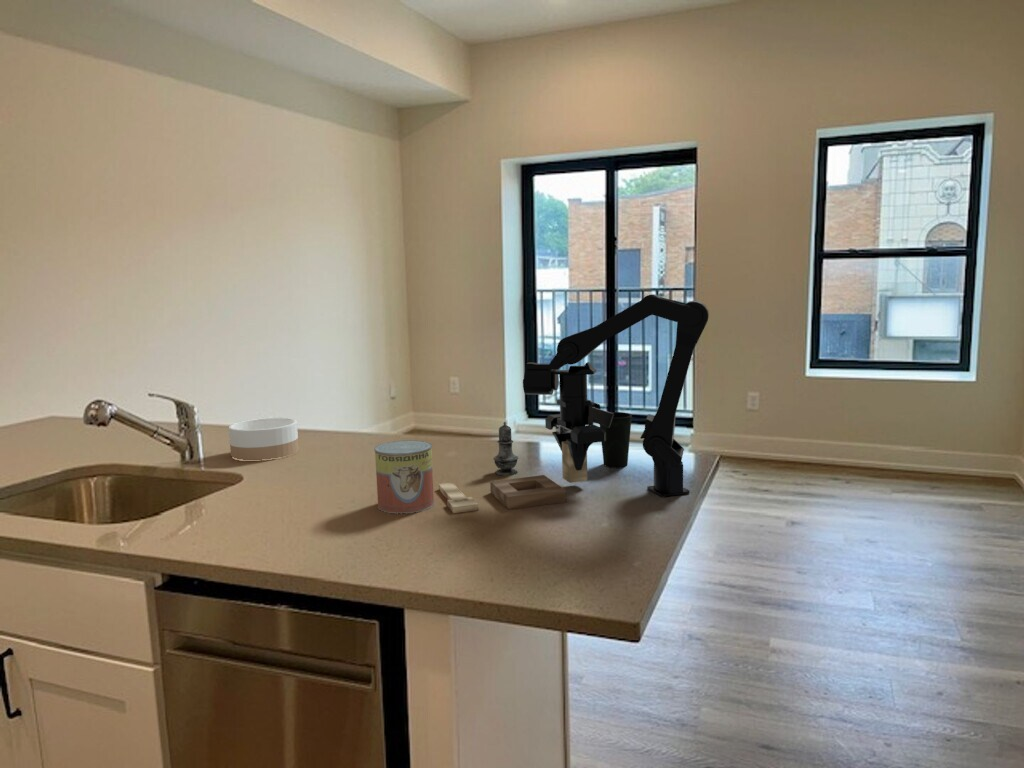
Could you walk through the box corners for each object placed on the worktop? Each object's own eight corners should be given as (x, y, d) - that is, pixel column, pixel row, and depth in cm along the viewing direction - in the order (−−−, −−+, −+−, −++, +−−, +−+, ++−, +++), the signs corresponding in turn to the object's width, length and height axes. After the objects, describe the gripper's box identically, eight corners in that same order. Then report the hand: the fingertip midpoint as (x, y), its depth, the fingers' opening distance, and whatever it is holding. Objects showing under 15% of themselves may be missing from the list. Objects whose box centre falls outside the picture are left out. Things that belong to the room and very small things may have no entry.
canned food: (380, 516, 138) (377, 455, 137) (375, 500, 149) (372, 443, 147) (438, 510, 141) (436, 450, 140) (429, 494, 152) (427, 438, 150)
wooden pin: (587, 480, 153) (586, 443, 152) (569, 482, 152) (569, 445, 151) (579, 476, 157) (579, 439, 156) (562, 478, 155) (561, 441, 154)
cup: (630, 460, 175) (630, 411, 173) (633, 468, 167) (632, 417, 166) (598, 460, 176) (598, 412, 174) (599, 468, 168) (599, 418, 167)
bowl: (216, 460, 188) (213, 429, 186) (257, 445, 204) (255, 416, 203) (273, 463, 183) (271, 431, 181) (311, 448, 199) (309, 418, 198)
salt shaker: (516, 476, 164) (514, 424, 162) (490, 475, 165) (489, 424, 163) (521, 469, 170) (519, 419, 168) (496, 469, 171) (495, 419, 169)
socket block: (565, 501, 144) (565, 489, 144) (508, 509, 140) (508, 496, 140) (544, 486, 155) (543, 474, 155) (490, 492, 152) (490, 481, 151)
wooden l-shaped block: (478, 509, 141) (478, 504, 140) (453, 513, 139) (453, 507, 139) (456, 487, 157) (456, 481, 156) (434, 489, 155) (434, 484, 155)
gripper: (628, 398, 145) (629, 474, 148) (589, 386, 163) (590, 454, 165) (577, 403, 142) (579, 480, 144) (543, 390, 159) (545, 459, 162)
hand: (574, 467), depth 154 cm, fingers closed on wooden pin, 4 cm apart
